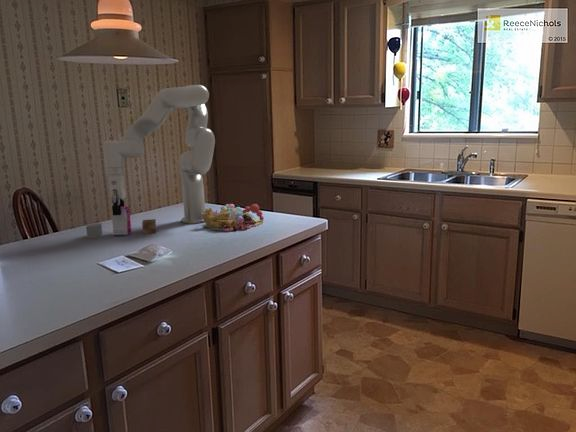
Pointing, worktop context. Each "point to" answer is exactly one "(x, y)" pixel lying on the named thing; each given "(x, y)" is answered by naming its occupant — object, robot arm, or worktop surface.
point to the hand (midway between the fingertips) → (118, 212)
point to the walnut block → (149, 226)
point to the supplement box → (121, 222)
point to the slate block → (94, 230)
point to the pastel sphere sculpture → (232, 218)
